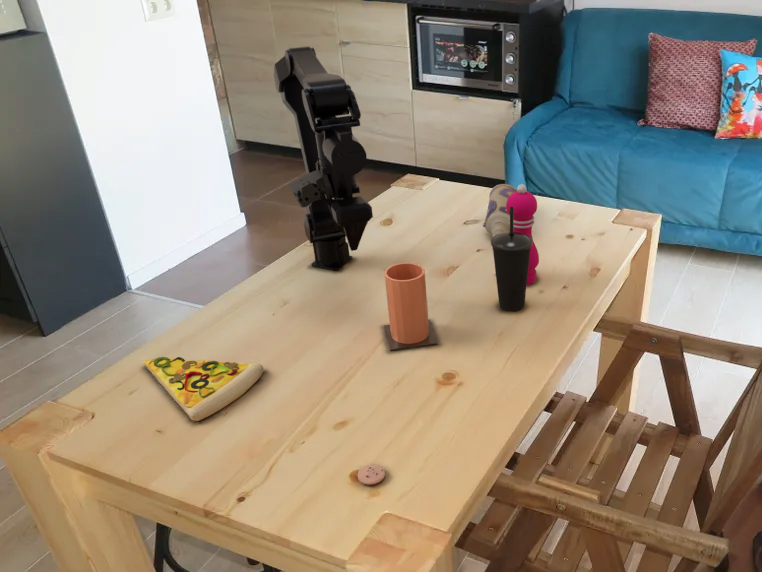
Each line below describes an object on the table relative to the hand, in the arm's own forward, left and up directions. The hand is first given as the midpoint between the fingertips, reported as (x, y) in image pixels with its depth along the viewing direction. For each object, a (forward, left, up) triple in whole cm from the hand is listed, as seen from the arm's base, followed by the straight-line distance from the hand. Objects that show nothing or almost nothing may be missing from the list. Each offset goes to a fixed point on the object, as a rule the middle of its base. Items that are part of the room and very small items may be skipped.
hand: (347, 240), depth 138 cm
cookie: (+27, -43, -13) cm, 52 cm away
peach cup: (+15, -7, -13) cm, 21 cm away
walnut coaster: (+15, -7, -13) cm, 22 cm away
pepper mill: (+27, +20, -13) cm, 36 cm away
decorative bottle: (+14, +41, -13) cm, 45 cm away
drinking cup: (+29, +9, -13) cm, 33 cm away
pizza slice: (-12, -33, -13) cm, 37 cm away
